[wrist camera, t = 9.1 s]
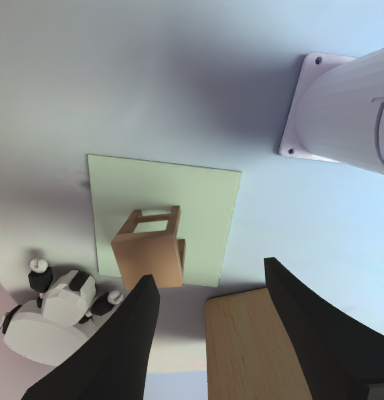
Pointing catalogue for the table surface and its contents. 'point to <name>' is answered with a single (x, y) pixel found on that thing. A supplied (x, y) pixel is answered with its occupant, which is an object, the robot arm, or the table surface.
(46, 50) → the table surface
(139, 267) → the brown handled box
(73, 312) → the robot toy
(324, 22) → the table surface
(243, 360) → the wooden block
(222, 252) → the sage mat
